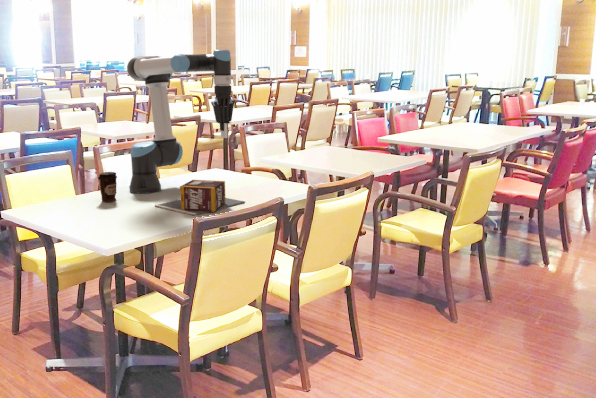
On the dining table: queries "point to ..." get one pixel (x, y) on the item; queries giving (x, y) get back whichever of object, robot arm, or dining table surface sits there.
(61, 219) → the dining table surface
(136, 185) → the robot arm
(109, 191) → the coffee cup
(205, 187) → the supplement box
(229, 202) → the mat
